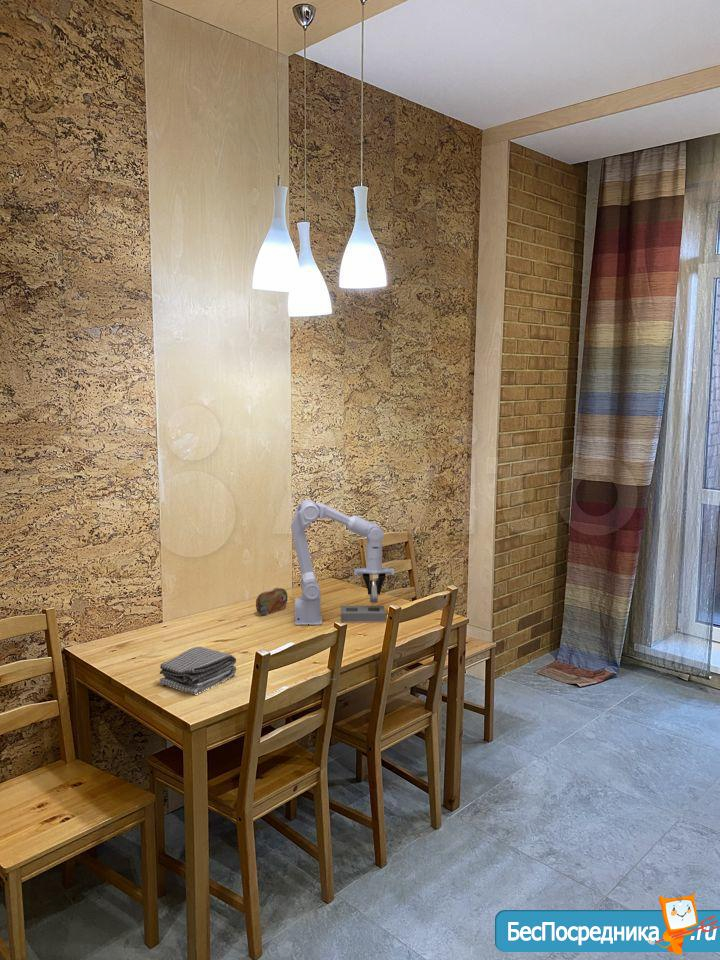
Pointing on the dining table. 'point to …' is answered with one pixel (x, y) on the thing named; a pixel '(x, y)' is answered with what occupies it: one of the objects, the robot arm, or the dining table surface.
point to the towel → (197, 669)
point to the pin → (373, 591)
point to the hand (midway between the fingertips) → (373, 593)
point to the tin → (271, 601)
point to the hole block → (363, 614)
